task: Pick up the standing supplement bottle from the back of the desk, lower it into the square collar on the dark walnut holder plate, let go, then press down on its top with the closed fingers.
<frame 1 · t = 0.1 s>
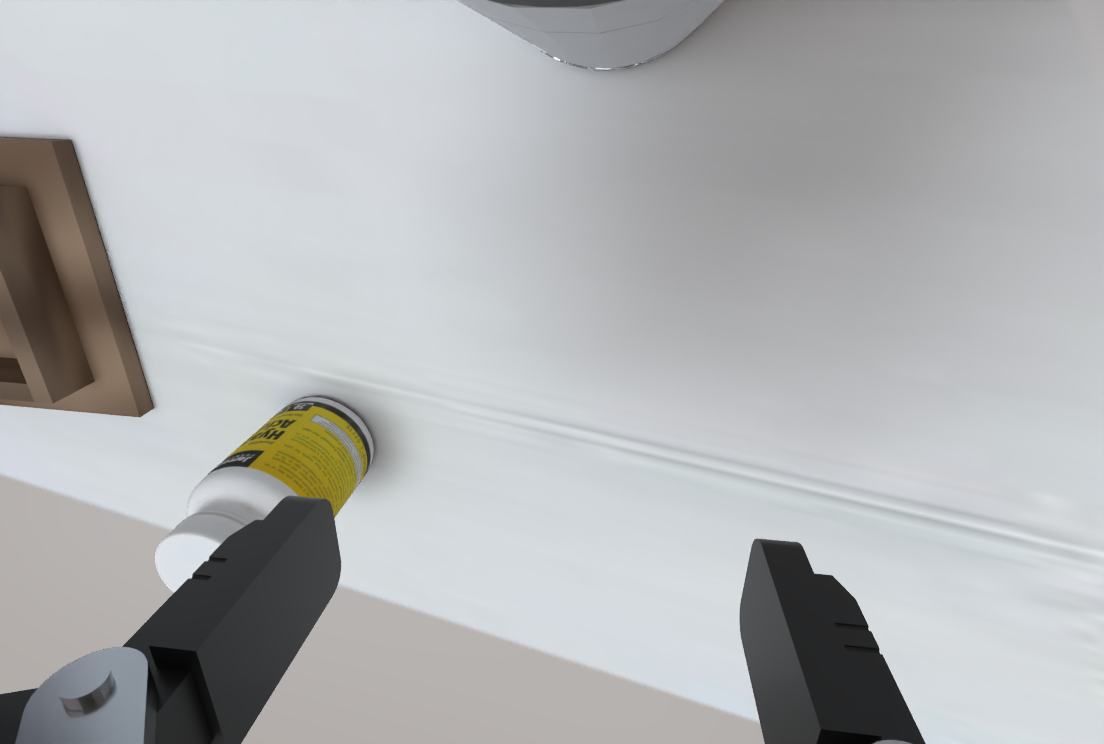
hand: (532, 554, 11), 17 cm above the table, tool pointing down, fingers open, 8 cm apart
supplement bottle: (328, 436, 32), on the table
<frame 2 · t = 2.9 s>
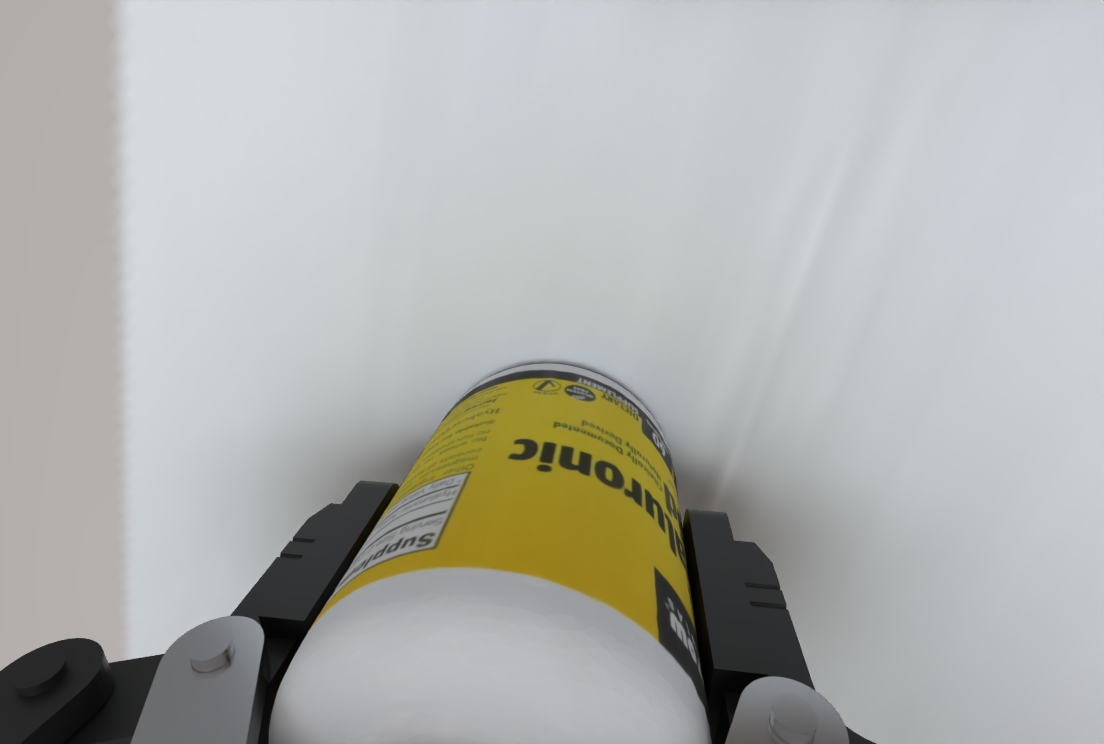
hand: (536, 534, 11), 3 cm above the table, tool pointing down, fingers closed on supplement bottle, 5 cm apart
supplement bottle: (554, 458, 14), on the table, touching gripper
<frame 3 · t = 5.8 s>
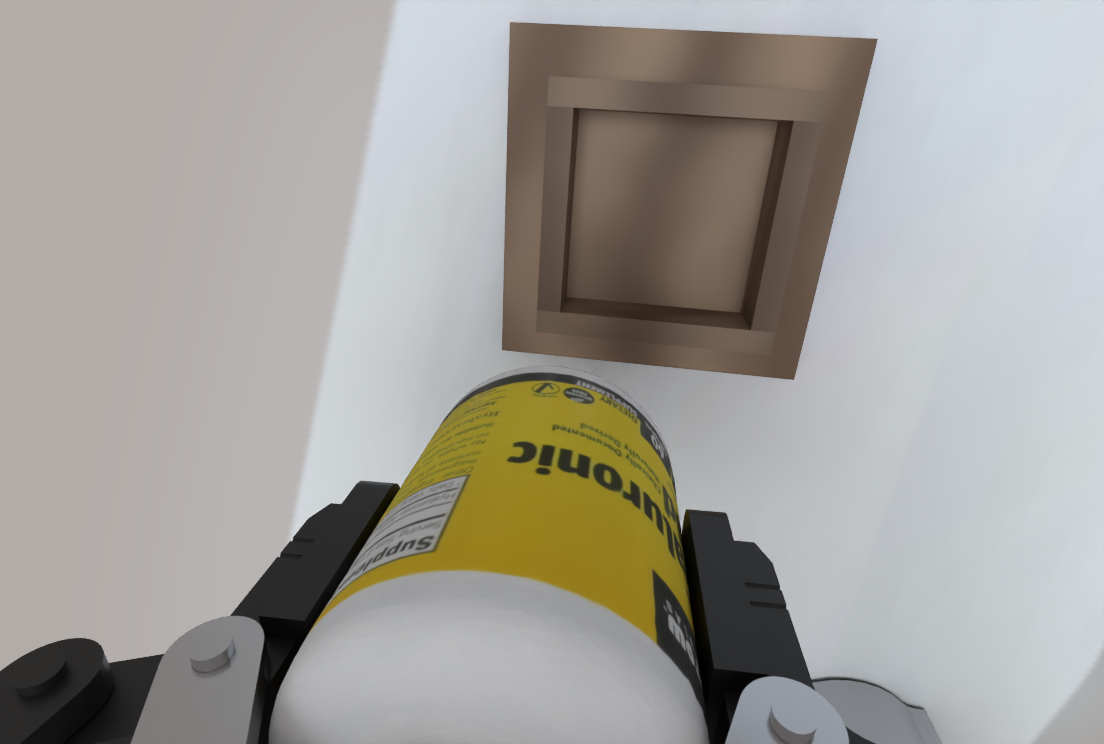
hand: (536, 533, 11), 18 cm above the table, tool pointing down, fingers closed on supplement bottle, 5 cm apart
supplement bottle: (553, 461, 14), point 15 cm above the table, touching gripper
cup holder: (662, 212, 26), on the table
when the fingers open (5 cm above the table, at t = 8.7 s): supplement bottle drops 1 cm, resting on cup holder.
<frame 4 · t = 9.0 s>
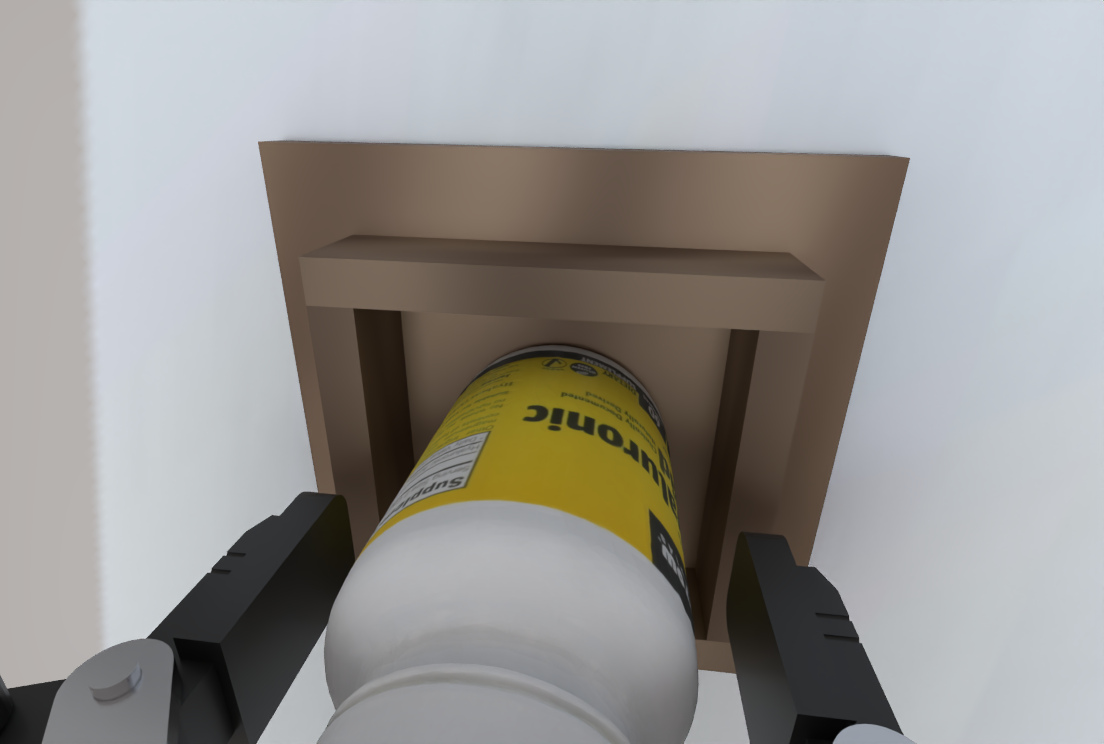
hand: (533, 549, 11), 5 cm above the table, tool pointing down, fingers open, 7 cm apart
supplement bottle: (559, 434, 15), point 1 cm above the table, touching cup holder
cup holder: (562, 417, 16), on the table
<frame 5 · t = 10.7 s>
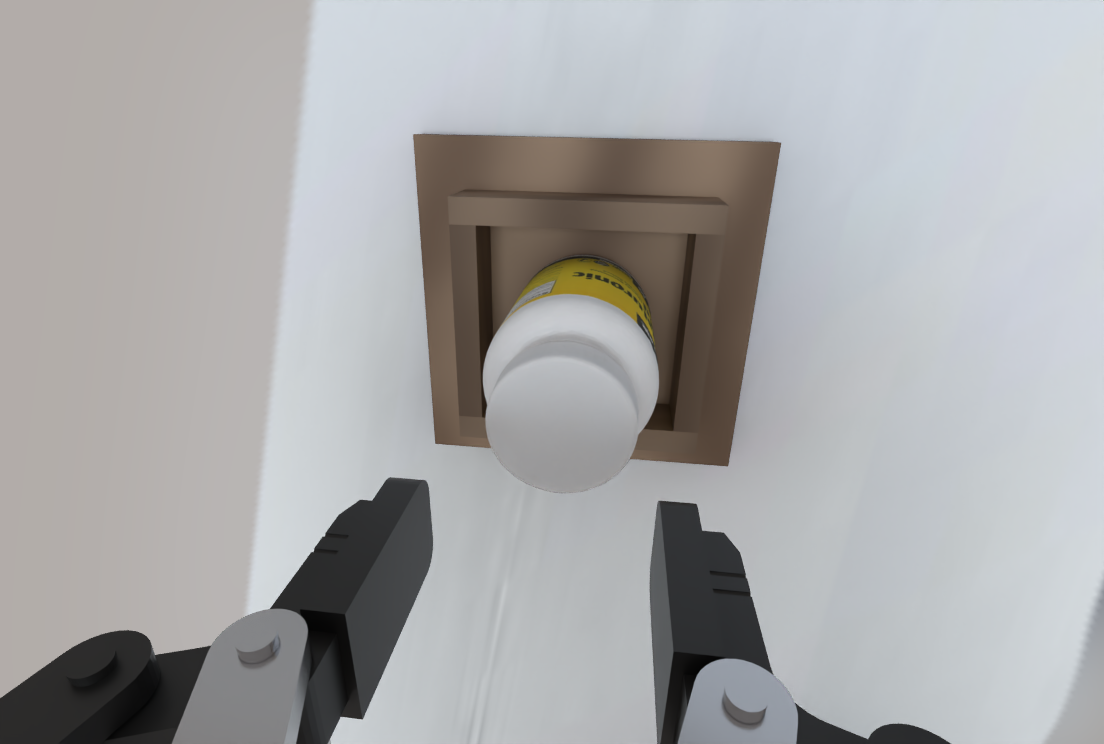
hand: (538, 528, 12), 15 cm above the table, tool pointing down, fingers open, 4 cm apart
supplement bottle: (584, 315, 25), point 1 cm above the table, touching cup holder
cup holder: (585, 307, 26), on the table
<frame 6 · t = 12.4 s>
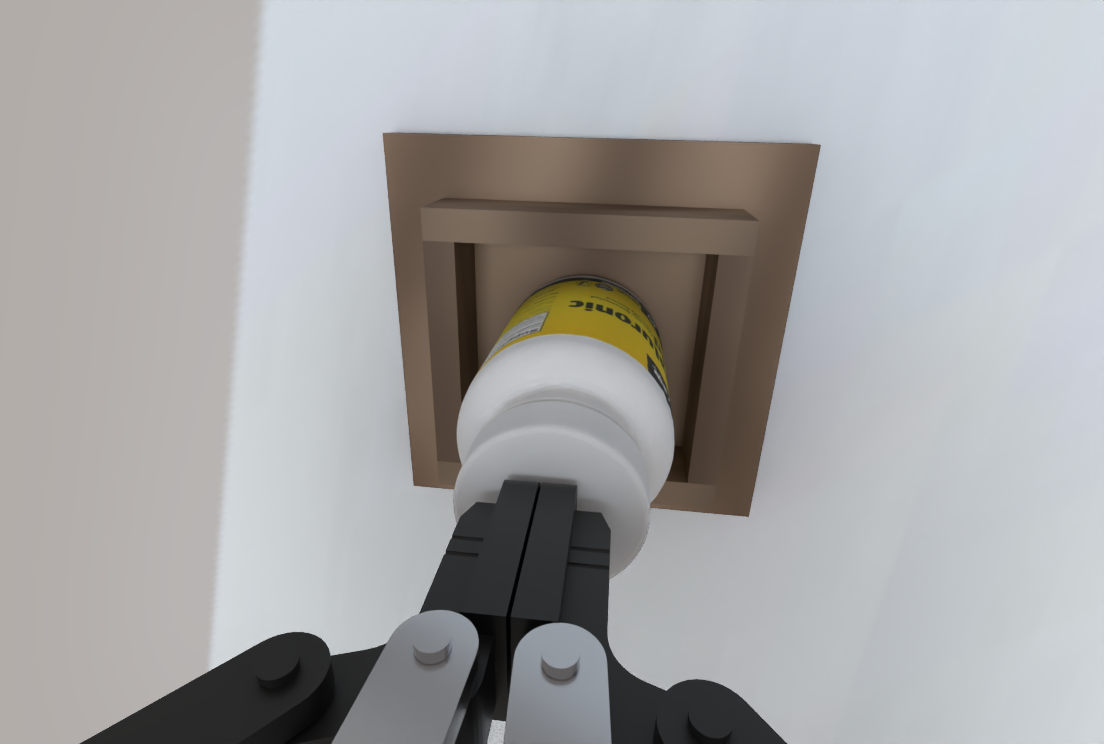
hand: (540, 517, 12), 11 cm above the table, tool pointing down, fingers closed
supplement bottle: (584, 343, 21), point 1 cm above the table, touching cup holder, gripper
cup holder: (585, 334, 22), on the table
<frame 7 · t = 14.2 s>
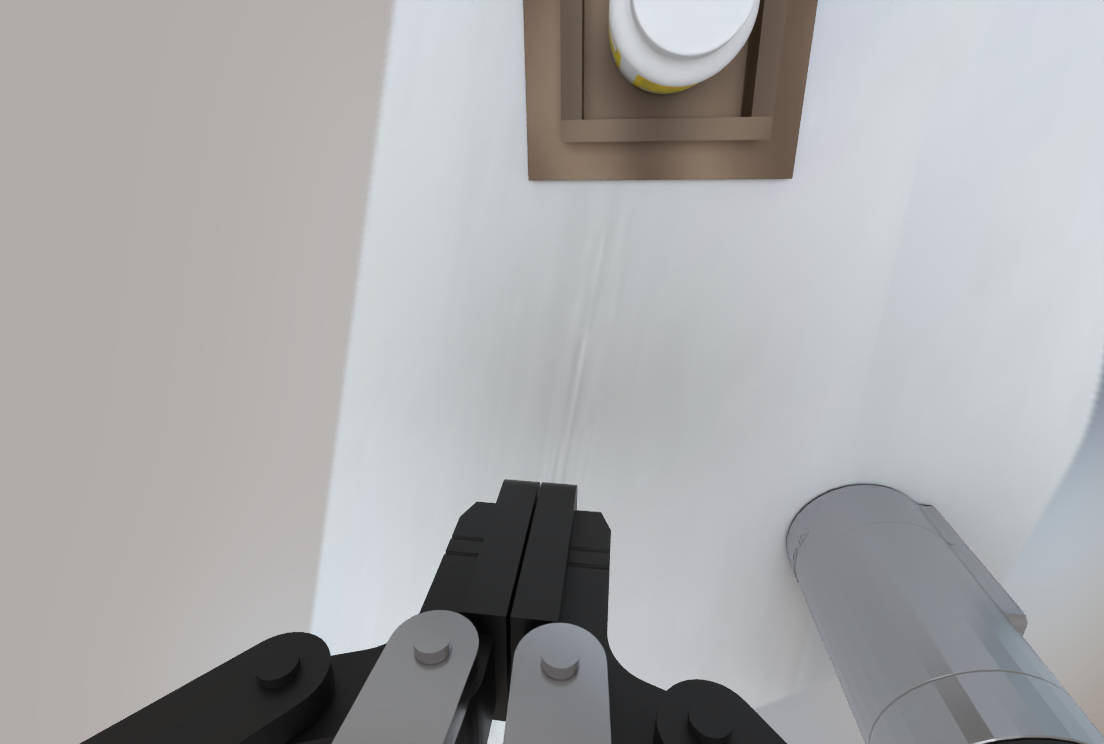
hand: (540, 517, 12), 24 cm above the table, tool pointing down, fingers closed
supplement bottle: (665, 32, 28), point 1 cm above the table, touching cup holder
cup holder: (664, 32, 29), on the table
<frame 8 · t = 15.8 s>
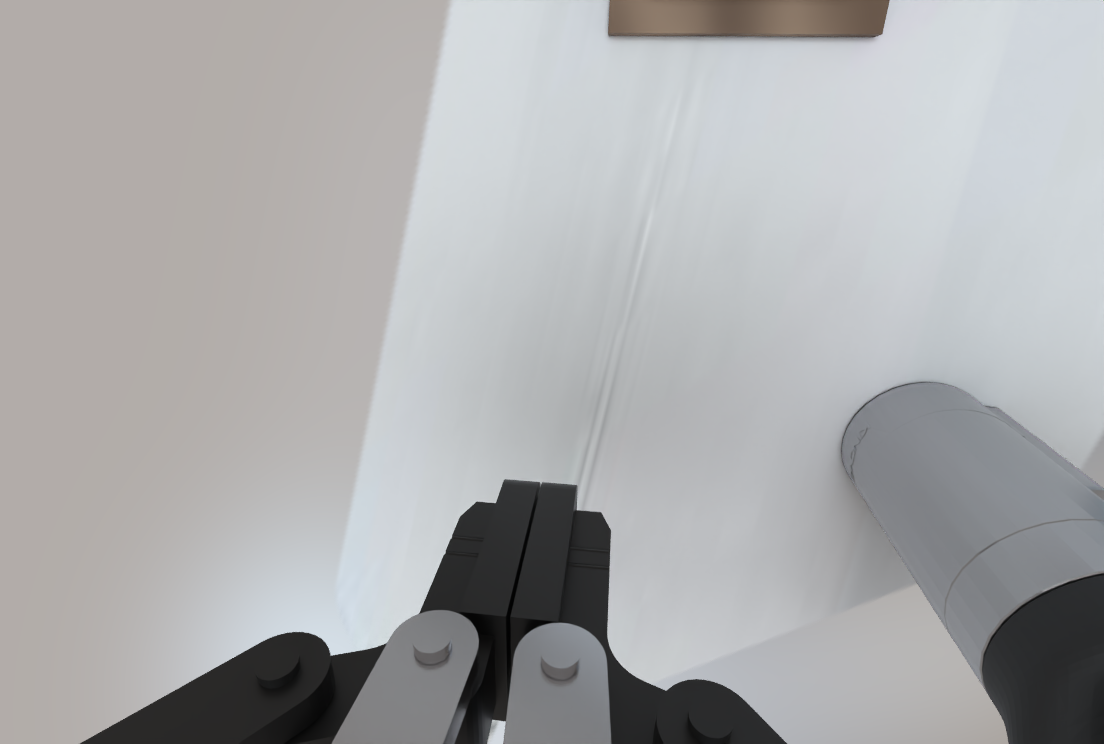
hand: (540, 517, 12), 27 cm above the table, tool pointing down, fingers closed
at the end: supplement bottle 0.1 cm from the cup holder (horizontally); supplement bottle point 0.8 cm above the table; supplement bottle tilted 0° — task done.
